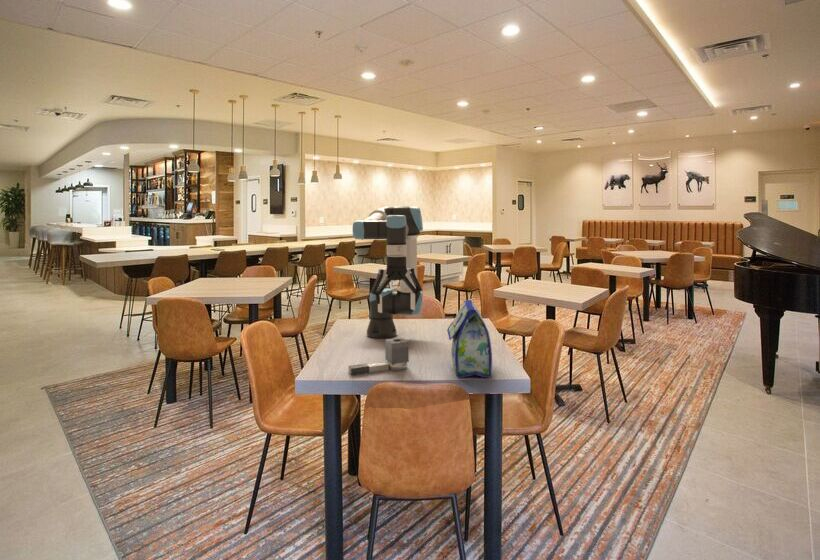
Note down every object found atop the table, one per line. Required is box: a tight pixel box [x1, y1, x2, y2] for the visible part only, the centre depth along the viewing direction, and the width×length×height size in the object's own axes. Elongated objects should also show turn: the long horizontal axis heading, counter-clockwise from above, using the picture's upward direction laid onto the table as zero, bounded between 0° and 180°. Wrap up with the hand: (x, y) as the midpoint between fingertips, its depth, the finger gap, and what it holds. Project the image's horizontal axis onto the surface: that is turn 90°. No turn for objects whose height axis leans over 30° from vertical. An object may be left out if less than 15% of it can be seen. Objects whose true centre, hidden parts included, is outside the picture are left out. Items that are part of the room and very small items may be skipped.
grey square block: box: [384, 337, 410, 364], centre depth 186 cm, size 7×7×8 cm
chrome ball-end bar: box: [348, 360, 408, 376], centre depth 184 cm, size 8×23×8 cm, turn 113°
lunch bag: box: [447, 299, 493, 378], centre depth 183 cm, size 22×17×26 cm
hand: (396, 310), depth 184 cm, fingers open, 13 cm apart
